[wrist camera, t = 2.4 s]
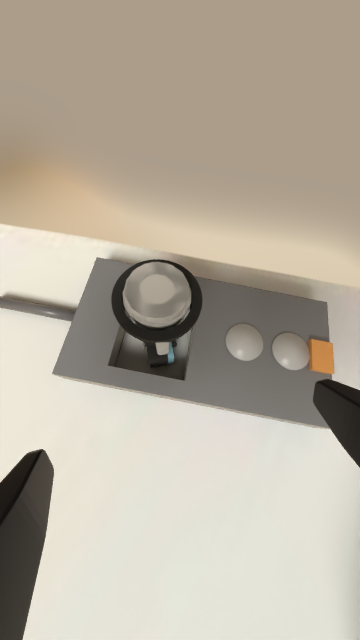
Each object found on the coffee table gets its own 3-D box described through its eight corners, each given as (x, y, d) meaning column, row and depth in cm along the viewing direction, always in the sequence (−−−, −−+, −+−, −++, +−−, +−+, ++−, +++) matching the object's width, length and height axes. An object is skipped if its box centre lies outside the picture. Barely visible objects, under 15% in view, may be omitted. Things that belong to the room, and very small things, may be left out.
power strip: (311, 312, 24) (330, 299, 22) (315, 427, 20) (339, 429, 18) (22, 256, 25) (4, 236, 22) (-33, 359, 20) (-63, 350, 18)
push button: (124, 308, 23) (100, 237, 14) (177, 299, 24) (187, 226, 15) (135, 375, 21) (113, 344, 12) (193, 363, 22) (216, 324, 12)
